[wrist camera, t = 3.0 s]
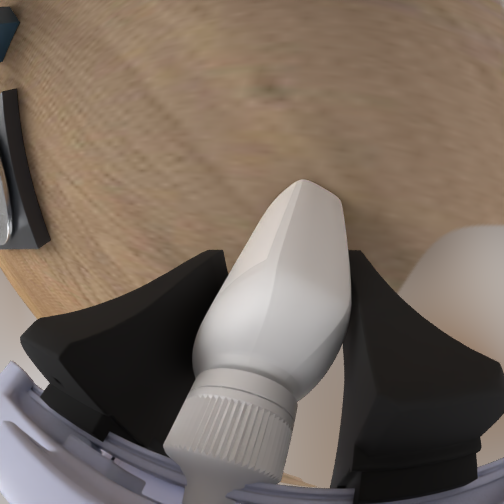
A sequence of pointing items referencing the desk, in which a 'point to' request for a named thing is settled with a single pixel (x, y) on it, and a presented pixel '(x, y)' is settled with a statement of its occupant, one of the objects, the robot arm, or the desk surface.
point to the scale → (19, 180)
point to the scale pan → (4, 208)
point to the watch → (6, 29)
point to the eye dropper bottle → (264, 346)
